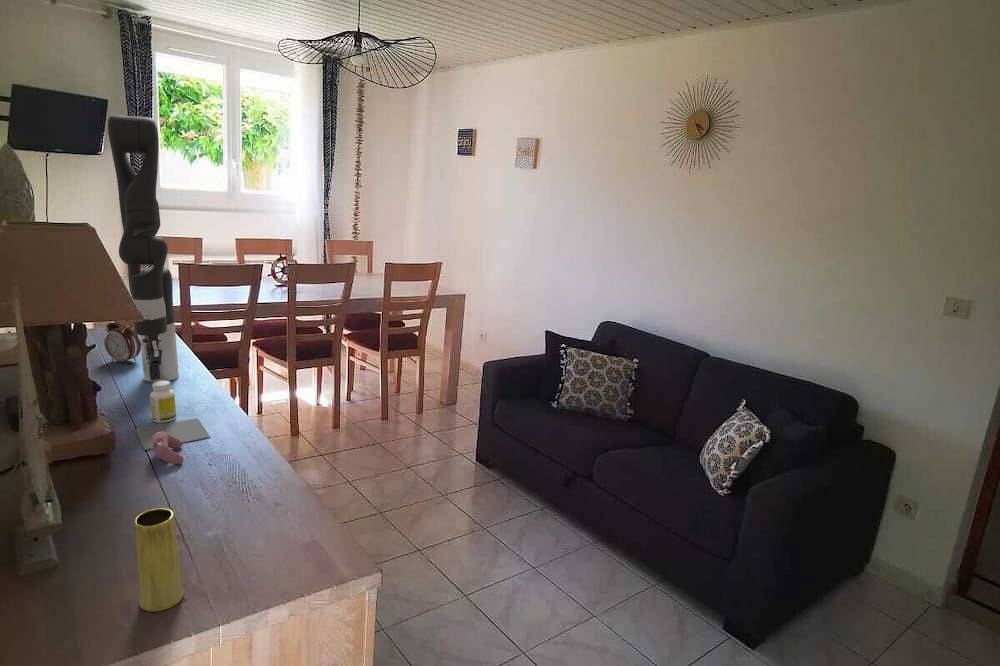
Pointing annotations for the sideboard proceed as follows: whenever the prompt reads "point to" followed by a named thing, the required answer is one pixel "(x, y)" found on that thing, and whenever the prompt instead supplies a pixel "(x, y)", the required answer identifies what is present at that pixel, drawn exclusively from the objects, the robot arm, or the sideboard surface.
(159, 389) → the supplement bottle
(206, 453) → the sideboard surface
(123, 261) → the robot arm
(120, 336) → the alarm clock
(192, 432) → the mat
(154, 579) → the vase
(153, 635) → the sideboard surface
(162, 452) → the video game controller
